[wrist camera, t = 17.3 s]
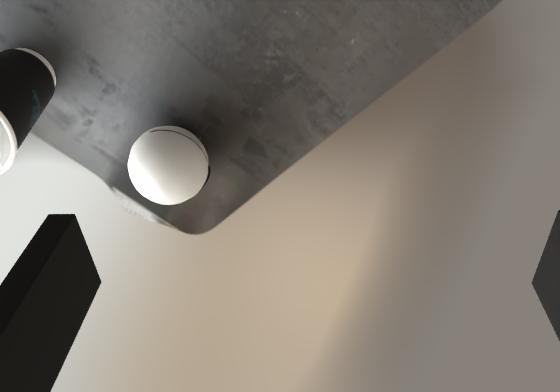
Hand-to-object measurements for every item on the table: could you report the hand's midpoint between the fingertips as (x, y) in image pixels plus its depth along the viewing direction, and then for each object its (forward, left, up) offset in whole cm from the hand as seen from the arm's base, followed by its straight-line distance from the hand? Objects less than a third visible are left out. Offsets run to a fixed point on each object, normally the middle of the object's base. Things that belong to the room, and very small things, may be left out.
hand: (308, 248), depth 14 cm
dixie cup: (+2, +26, -31) cm, 41 cm away
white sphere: (-9, +16, -31) cm, 36 cm away
